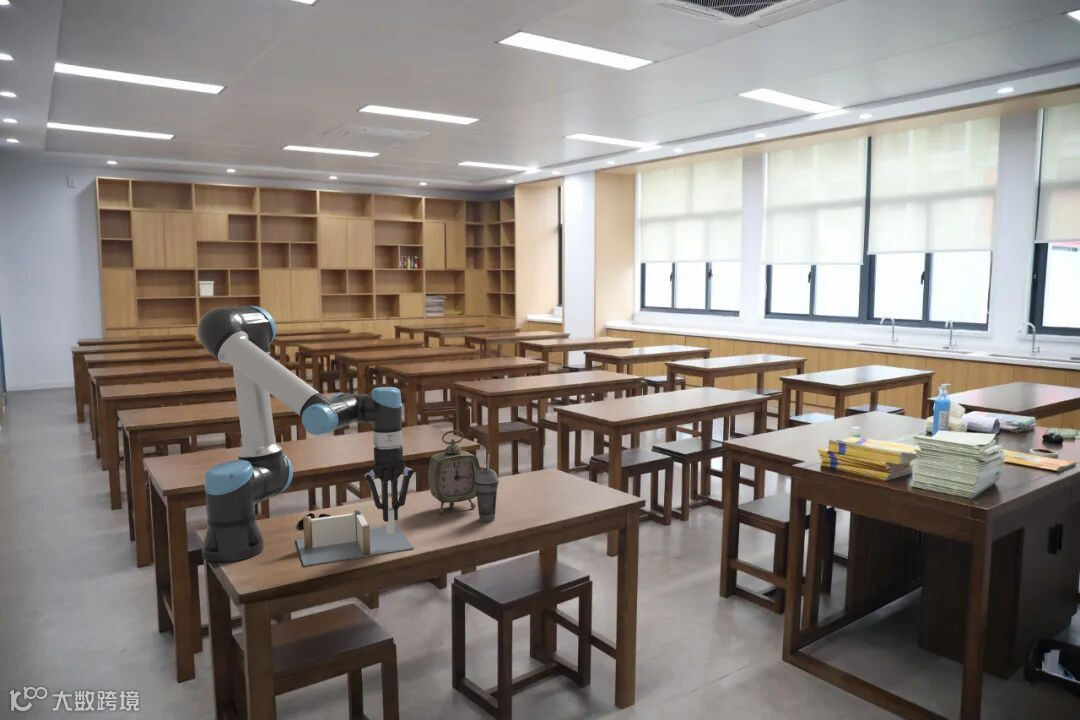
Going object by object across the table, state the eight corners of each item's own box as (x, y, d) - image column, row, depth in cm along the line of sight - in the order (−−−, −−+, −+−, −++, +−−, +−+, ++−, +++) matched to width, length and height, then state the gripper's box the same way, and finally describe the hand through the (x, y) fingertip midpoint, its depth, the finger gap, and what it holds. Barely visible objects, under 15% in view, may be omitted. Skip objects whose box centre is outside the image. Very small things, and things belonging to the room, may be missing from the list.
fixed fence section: (305, 550, 194) (303, 519, 193) (304, 547, 196) (302, 516, 195) (363, 541, 200) (362, 511, 199) (362, 539, 202) (361, 509, 201)
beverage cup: (488, 513, 222) (487, 449, 220) (504, 519, 217) (503, 453, 215) (470, 519, 217) (468, 453, 215) (485, 525, 212) (484, 458, 210)
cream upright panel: (356, 540, 199) (355, 515, 198) (363, 539, 199) (362, 514, 199) (363, 554, 189) (362, 527, 188) (370, 552, 189) (370, 526, 189)
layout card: (303, 566, 183) (303, 564, 183) (296, 540, 201) (296, 539, 201) (413, 549, 194) (413, 547, 194) (396, 526, 212) (396, 524, 212)
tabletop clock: (436, 516, 220) (434, 435, 218) (427, 508, 228) (425, 430, 226) (481, 509, 227) (479, 430, 224) (470, 501, 235) (468, 425, 232)
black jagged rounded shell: (334, 530, 211) (334, 514, 210) (298, 535, 207) (298, 518, 207) (330, 518, 222) (329, 502, 221) (296, 522, 218) (295, 506, 218)
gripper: (365, 451, 186) (368, 540, 188) (415, 446, 191) (418, 533, 194) (360, 445, 193) (363, 531, 195) (409, 440, 198) (411, 524, 200)
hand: (390, 532), depth 194 cm, fingers closed
